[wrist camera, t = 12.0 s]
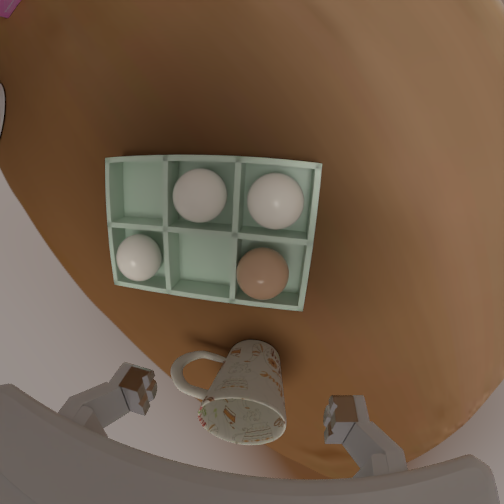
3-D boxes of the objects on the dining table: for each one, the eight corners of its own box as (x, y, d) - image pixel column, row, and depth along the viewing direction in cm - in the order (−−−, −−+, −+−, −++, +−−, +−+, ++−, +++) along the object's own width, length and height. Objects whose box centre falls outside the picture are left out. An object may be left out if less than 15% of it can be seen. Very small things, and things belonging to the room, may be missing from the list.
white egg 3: (249, 219, 25) (241, 233, 21) (252, 169, 24) (244, 172, 19) (300, 224, 25) (302, 239, 21) (305, 173, 23) (309, 177, 19)
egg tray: (128, 272, 30) (114, 284, 27) (122, 156, 25) (105, 157, 22) (301, 295, 28) (302, 311, 25) (318, 162, 23) (322, 163, 20)
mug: (278, 387, 33) (272, 450, 23) (184, 363, 33) (156, 420, 24) (298, 340, 30) (298, 409, 20) (189, 312, 30) (154, 371, 21)
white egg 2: (183, 214, 26) (164, 226, 22) (184, 166, 24) (163, 169, 20) (231, 218, 25) (218, 231, 21) (233, 167, 24) (221, 170, 20)
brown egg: (249, 237, 26) (228, 252, 22) (296, 245, 25) (284, 262, 21) (246, 281, 28) (226, 302, 24) (291, 291, 26) (277, 314, 22)
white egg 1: (132, 267, 29) (110, 285, 24) (129, 226, 27) (104, 240, 23) (170, 272, 28) (151, 292, 24) (168, 230, 27) (146, 244, 22)
